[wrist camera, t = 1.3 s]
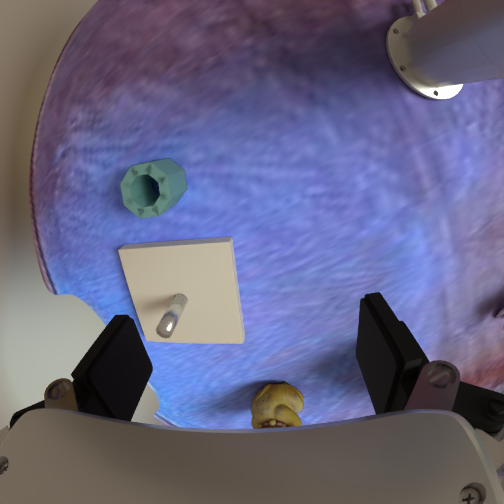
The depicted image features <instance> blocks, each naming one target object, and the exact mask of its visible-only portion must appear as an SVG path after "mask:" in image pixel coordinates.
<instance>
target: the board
mask: <svg viewBox="0 0 504 504" xmlns="http://www.w3.org/2000/svg"><path fill="white" fill-rule="evenodd" d="M118 251H119V255H120V259H121V262H122V266H123V270H124V273H125V277H126V280H127V283H128V287H129V290H130V293H131V296H132V300H133V303H134V306H135V309H136V312H137V315H138V318H139V321H140V323H141V326H142V329H143V332H144V335H145V337H146V340H147V341H156V342H176V343H218V344H234V343H244V338H245V332H244V324H243V317H242V310H241V302H240V295H239V287H238V280H237V272H236V264H235V256H234V248H233V240H232V237H218V238H203V239H190V240H176V241H163V242H151V243H139V244H127V245H124V246H122V247H121V248H120V249H119V250H118Z"/></svg>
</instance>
